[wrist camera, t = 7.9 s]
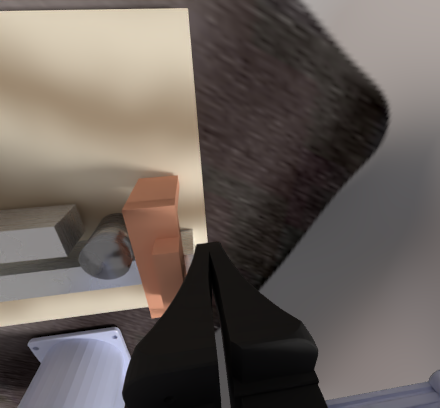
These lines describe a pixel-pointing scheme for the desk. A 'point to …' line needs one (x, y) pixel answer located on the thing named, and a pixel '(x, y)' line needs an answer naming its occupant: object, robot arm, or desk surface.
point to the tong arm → (39, 232)
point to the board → (95, 126)
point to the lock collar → (156, 239)
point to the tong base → (82, 265)
